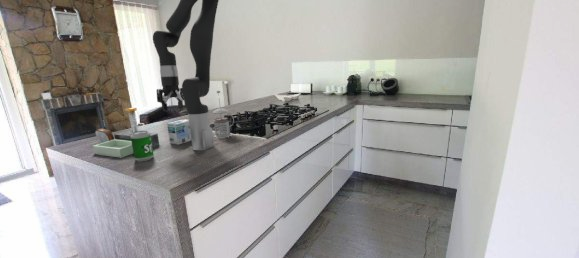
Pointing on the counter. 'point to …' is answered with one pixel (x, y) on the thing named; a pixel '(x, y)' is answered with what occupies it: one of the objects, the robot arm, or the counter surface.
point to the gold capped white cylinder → (132, 119)
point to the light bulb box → (179, 131)
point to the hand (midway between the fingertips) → (173, 110)
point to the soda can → (142, 145)
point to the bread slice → (104, 135)
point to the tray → (114, 148)
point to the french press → (218, 122)
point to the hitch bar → (127, 134)
